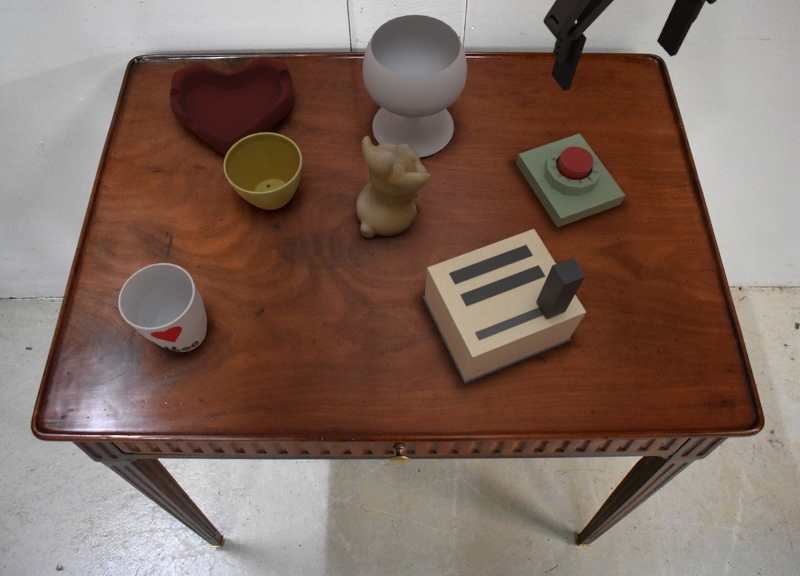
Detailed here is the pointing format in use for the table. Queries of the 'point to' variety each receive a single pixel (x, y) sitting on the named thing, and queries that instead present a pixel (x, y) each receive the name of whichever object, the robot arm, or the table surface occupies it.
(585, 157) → the button
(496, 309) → the toaster
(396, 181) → the figurine
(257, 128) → the ashtray
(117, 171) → the table surface
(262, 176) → the flower pot
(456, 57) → the chalice
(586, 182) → the control block
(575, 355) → the table surface
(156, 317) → the cup
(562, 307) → the toaster slider
